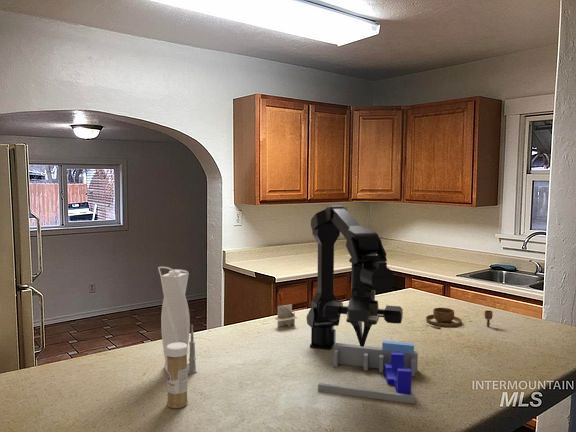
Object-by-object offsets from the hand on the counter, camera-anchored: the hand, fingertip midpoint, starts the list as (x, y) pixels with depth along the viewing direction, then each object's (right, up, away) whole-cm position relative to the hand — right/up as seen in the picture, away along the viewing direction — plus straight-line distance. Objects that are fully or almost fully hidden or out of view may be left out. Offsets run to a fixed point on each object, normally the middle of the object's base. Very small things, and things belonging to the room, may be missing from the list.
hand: (362, 346), depth 119 cm
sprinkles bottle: (-43, -10, -12) cm, 45 cm away
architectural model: (-19, -6, +46) cm, 50 cm away
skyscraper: (-47, -9, +7) cm, 49 cm away
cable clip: (+8, -10, -1) cm, 13 cm away
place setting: (+39, -6, +48) cm, 62 cm away
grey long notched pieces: (+2, -9, +2) cm, 9 cm away
